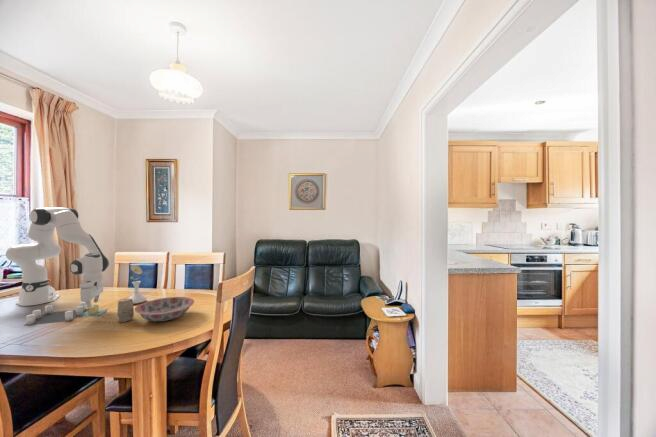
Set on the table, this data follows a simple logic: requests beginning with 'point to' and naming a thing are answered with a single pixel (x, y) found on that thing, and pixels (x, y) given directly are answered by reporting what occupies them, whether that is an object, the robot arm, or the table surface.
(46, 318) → the spacer mat
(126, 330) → the table surface
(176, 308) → the ceramic bowl
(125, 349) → the table surface
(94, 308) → the brass nut
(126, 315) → the carving
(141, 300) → the flower in vase
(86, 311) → the teal tile
